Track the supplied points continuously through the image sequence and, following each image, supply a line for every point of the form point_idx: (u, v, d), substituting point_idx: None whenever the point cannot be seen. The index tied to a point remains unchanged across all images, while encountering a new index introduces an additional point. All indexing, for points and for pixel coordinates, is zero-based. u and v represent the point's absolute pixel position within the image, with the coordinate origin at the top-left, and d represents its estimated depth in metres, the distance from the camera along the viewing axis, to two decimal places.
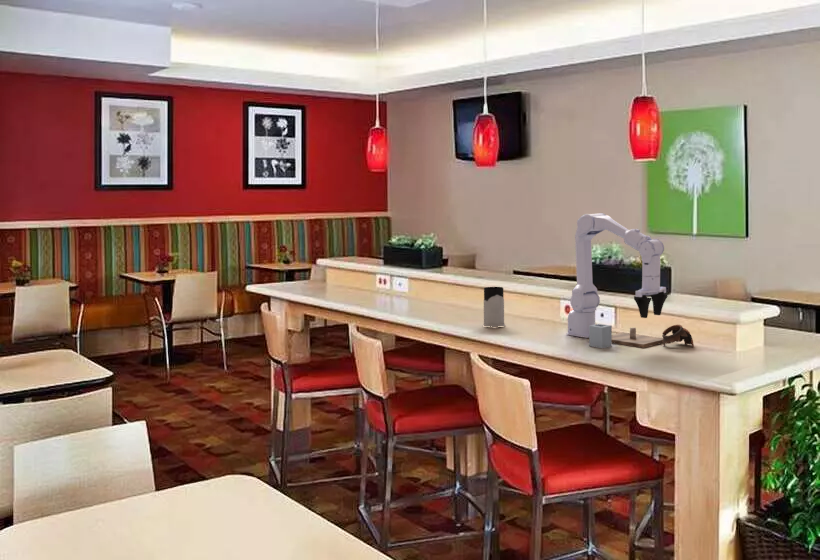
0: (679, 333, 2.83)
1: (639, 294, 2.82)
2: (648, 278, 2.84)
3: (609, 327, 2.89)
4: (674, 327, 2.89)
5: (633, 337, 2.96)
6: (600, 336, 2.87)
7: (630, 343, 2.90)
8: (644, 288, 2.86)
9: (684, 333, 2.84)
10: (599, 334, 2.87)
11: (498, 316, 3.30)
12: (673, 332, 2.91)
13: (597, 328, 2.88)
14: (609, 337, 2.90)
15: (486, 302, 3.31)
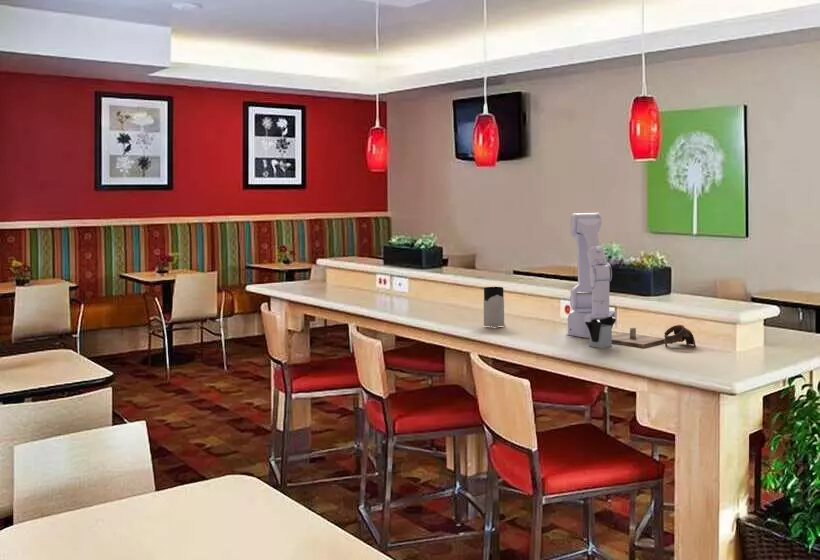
0: (681, 333, 2.83)
1: (588, 319, 2.85)
2: (597, 303, 2.87)
3: (609, 327, 2.89)
4: (676, 327, 2.88)
5: (633, 337, 2.96)
6: (600, 336, 2.87)
7: (630, 343, 2.90)
8: (593, 313, 2.88)
9: (686, 333, 2.83)
10: (599, 334, 2.87)
11: (498, 316, 3.30)
12: (675, 332, 2.90)
13: None
14: (609, 337, 2.90)
15: (486, 302, 3.31)
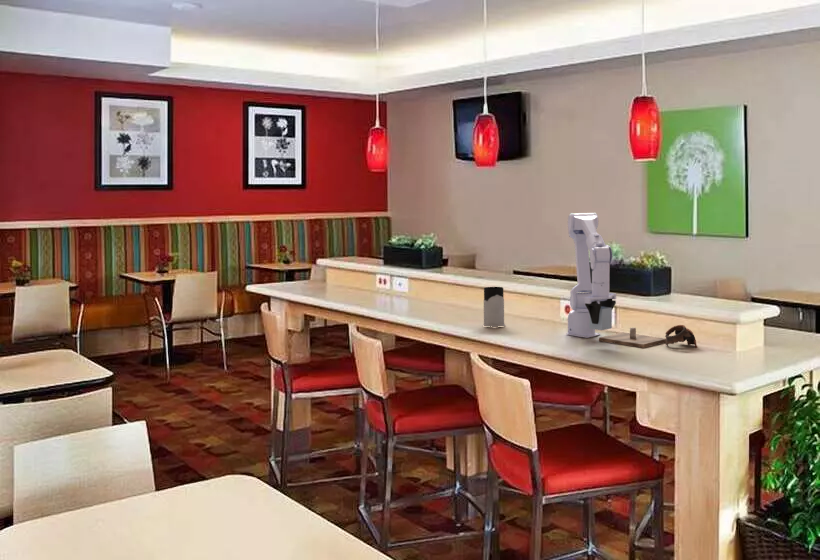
0: (682, 333, 2.83)
1: (588, 301, 2.84)
2: (597, 285, 2.86)
3: (609, 309, 2.88)
4: (677, 327, 2.88)
5: (633, 337, 2.96)
6: (600, 318, 2.87)
7: (630, 343, 2.90)
8: (593, 294, 2.88)
9: (687, 333, 2.83)
10: (599, 316, 2.87)
11: (498, 316, 3.30)
12: (676, 332, 2.90)
13: None
14: (609, 319, 2.89)
15: (486, 302, 3.31)
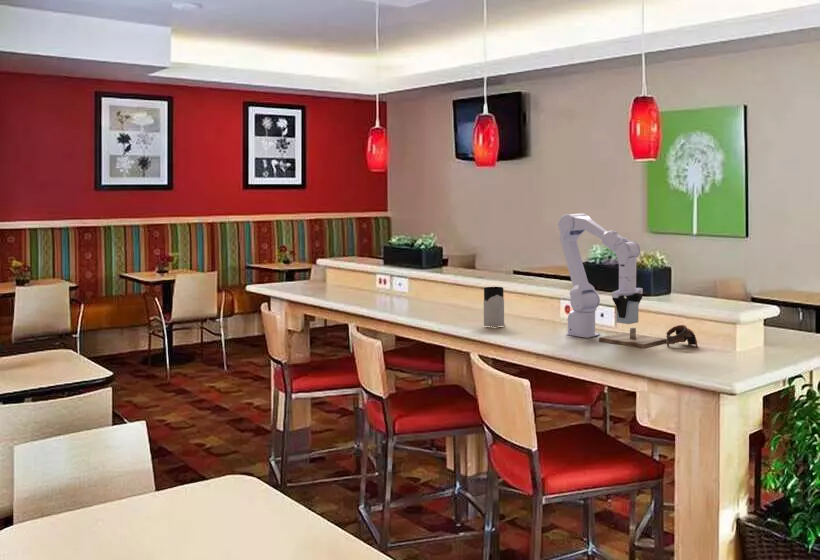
0: (683, 333, 2.82)
1: (615, 295, 2.89)
2: (624, 279, 2.91)
3: (636, 303, 2.94)
4: (678, 327, 2.88)
5: (633, 337, 2.96)
6: (627, 312, 2.92)
7: (630, 343, 2.90)
8: (620, 289, 2.93)
9: (688, 333, 2.83)
10: (626, 310, 2.92)
11: (498, 316, 3.30)
12: (677, 332, 2.90)
13: None
14: (636, 313, 2.94)
15: (486, 302, 3.31)
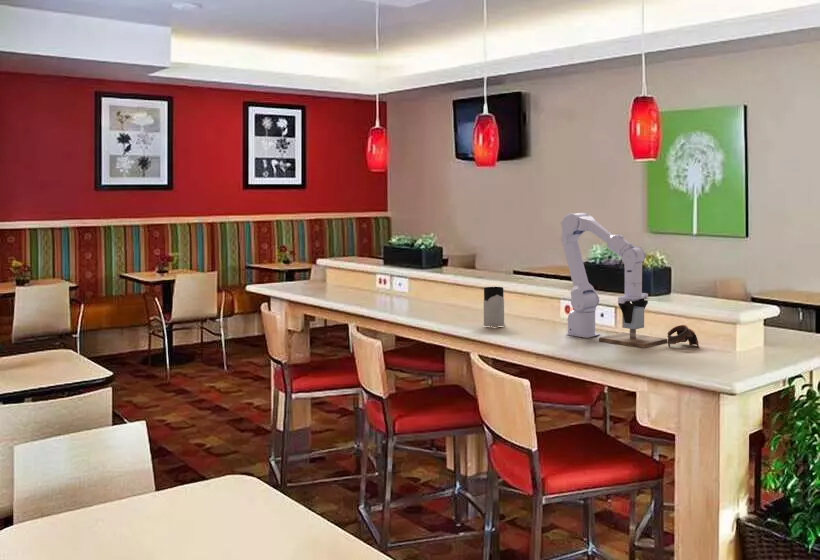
0: (684, 333, 2.82)
1: (621, 300, 2.91)
2: (630, 285, 2.93)
3: (642, 309, 2.95)
4: (679, 327, 2.88)
5: (633, 337, 2.96)
6: (633, 317, 2.93)
7: (630, 343, 2.90)
8: (626, 294, 2.94)
9: (689, 333, 2.83)
10: (632, 316, 2.93)
11: (498, 316, 3.30)
12: (678, 332, 2.90)
13: None
14: (642, 319, 2.96)
15: (486, 302, 3.31)
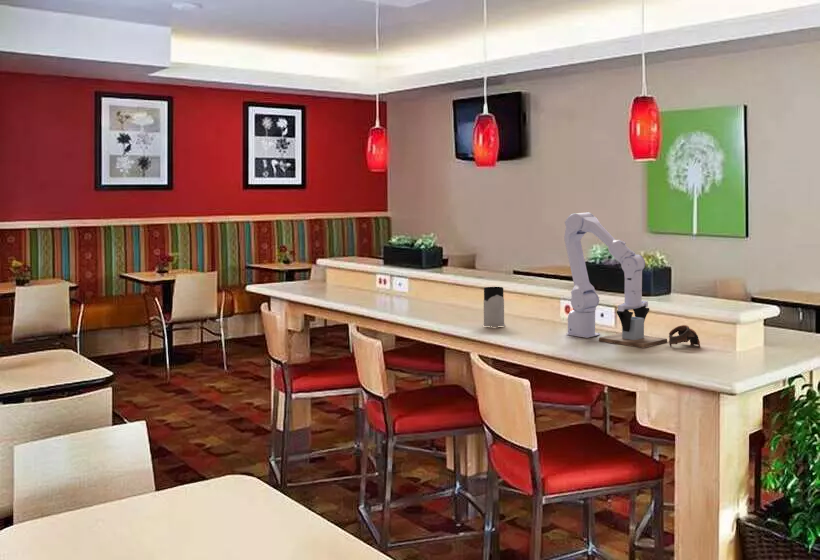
0: (686, 334, 2.82)
1: (621, 308, 2.91)
2: (630, 293, 2.93)
3: (642, 319, 2.95)
4: (680, 328, 2.87)
5: None
6: (633, 328, 2.94)
7: (630, 343, 2.90)
8: (626, 302, 2.95)
9: (691, 333, 2.82)
10: (632, 326, 2.94)
11: (498, 316, 3.30)
12: (679, 333, 2.90)
13: None
14: (642, 329, 2.96)
15: (486, 302, 3.31)
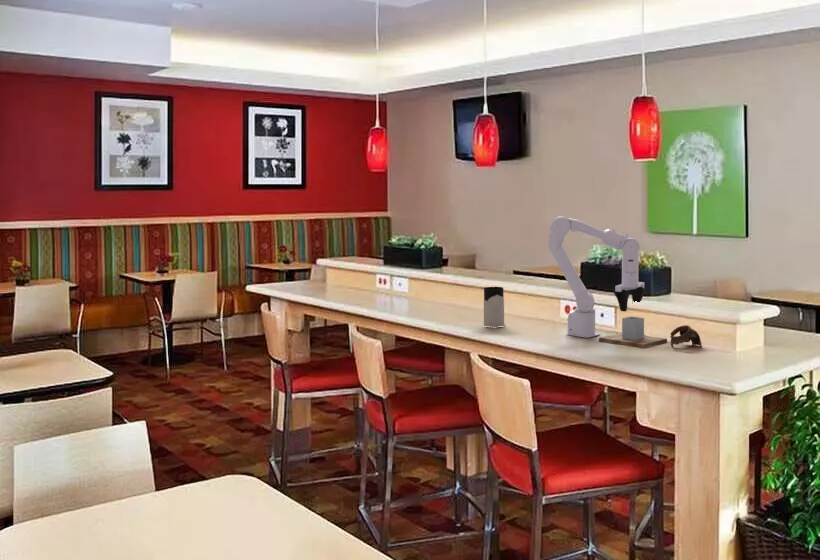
0: (688, 334, 2.82)
1: (618, 289, 3.01)
2: (627, 274, 3.03)
3: (642, 319, 2.95)
4: (682, 328, 2.87)
5: None
6: (633, 328, 2.94)
7: (630, 343, 2.90)
8: (623, 283, 3.04)
9: (693, 334, 2.82)
10: (632, 326, 2.94)
11: (498, 316, 3.30)
12: (681, 333, 2.89)
13: (630, 320, 2.94)
14: (642, 329, 2.96)
15: (486, 302, 3.31)
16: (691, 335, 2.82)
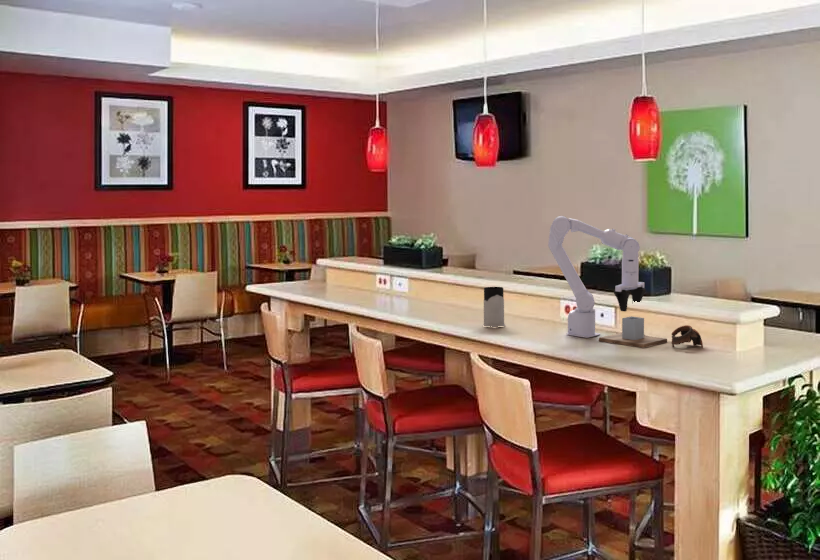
0: (689, 334, 2.81)
1: (618, 289, 3.01)
2: (627, 274, 3.03)
3: (642, 319, 2.95)
4: (683, 328, 2.87)
5: None
6: (633, 328, 2.94)
7: (630, 343, 2.90)
8: (623, 283, 3.04)
9: (694, 334, 2.82)
10: (632, 326, 2.94)
11: (498, 316, 3.30)
12: (682, 333, 2.89)
13: (630, 320, 2.94)
14: (642, 329, 2.96)
15: (486, 302, 3.31)
16: (692, 335, 2.81)
